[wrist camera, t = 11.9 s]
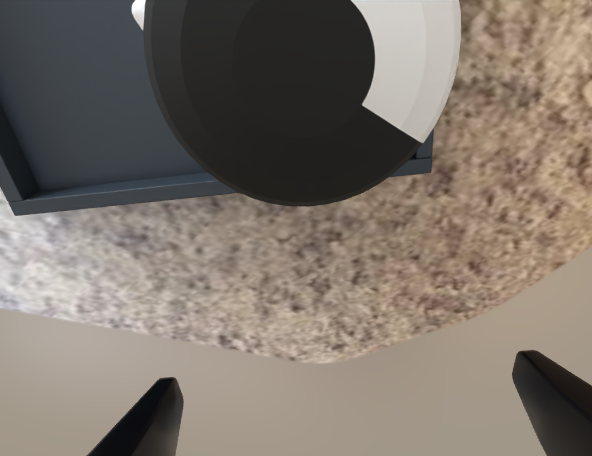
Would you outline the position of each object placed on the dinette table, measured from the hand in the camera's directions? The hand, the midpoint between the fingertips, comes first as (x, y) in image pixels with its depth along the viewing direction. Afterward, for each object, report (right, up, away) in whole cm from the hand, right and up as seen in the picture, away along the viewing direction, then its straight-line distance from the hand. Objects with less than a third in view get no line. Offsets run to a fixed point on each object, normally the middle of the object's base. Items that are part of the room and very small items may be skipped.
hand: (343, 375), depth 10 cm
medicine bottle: (-1, +12, +8) cm, 14 cm away
